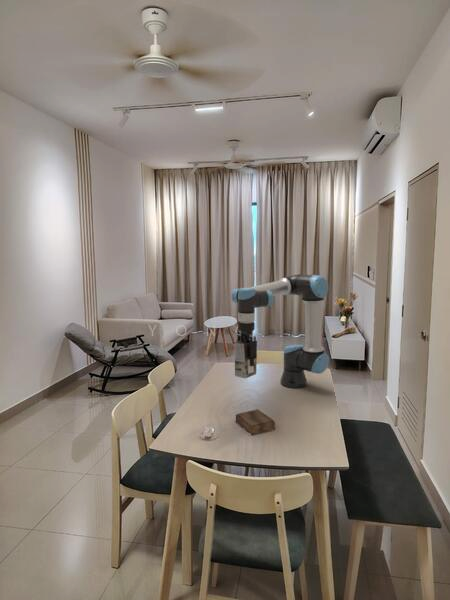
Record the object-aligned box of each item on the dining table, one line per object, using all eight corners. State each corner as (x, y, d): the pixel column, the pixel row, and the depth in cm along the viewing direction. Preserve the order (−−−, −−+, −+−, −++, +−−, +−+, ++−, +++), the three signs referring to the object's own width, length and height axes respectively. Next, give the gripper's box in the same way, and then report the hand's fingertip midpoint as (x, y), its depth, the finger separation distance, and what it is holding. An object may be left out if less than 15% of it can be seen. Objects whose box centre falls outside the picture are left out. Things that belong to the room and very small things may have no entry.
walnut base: (258, 416, 180) (258, 408, 180) (274, 429, 168) (274, 420, 167) (235, 422, 175) (235, 413, 174) (251, 435, 162) (251, 426, 162)
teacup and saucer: (208, 430, 168) (208, 421, 167) (222, 435, 163) (222, 426, 162) (195, 437, 161) (194, 428, 161) (209, 443, 156) (209, 434, 156)
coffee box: (245, 379, 172) (246, 344, 170) (234, 376, 176) (234, 342, 174) (256, 374, 179) (257, 340, 177) (245, 371, 183) (246, 338, 181)
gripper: (228, 318, 183) (228, 364, 185) (250, 326, 164) (249, 377, 166) (242, 317, 186) (242, 362, 189) (265, 325, 167) (264, 375, 170)
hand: (245, 369), depth 178 cm, fingers closed on coffee box, 8 cm apart
